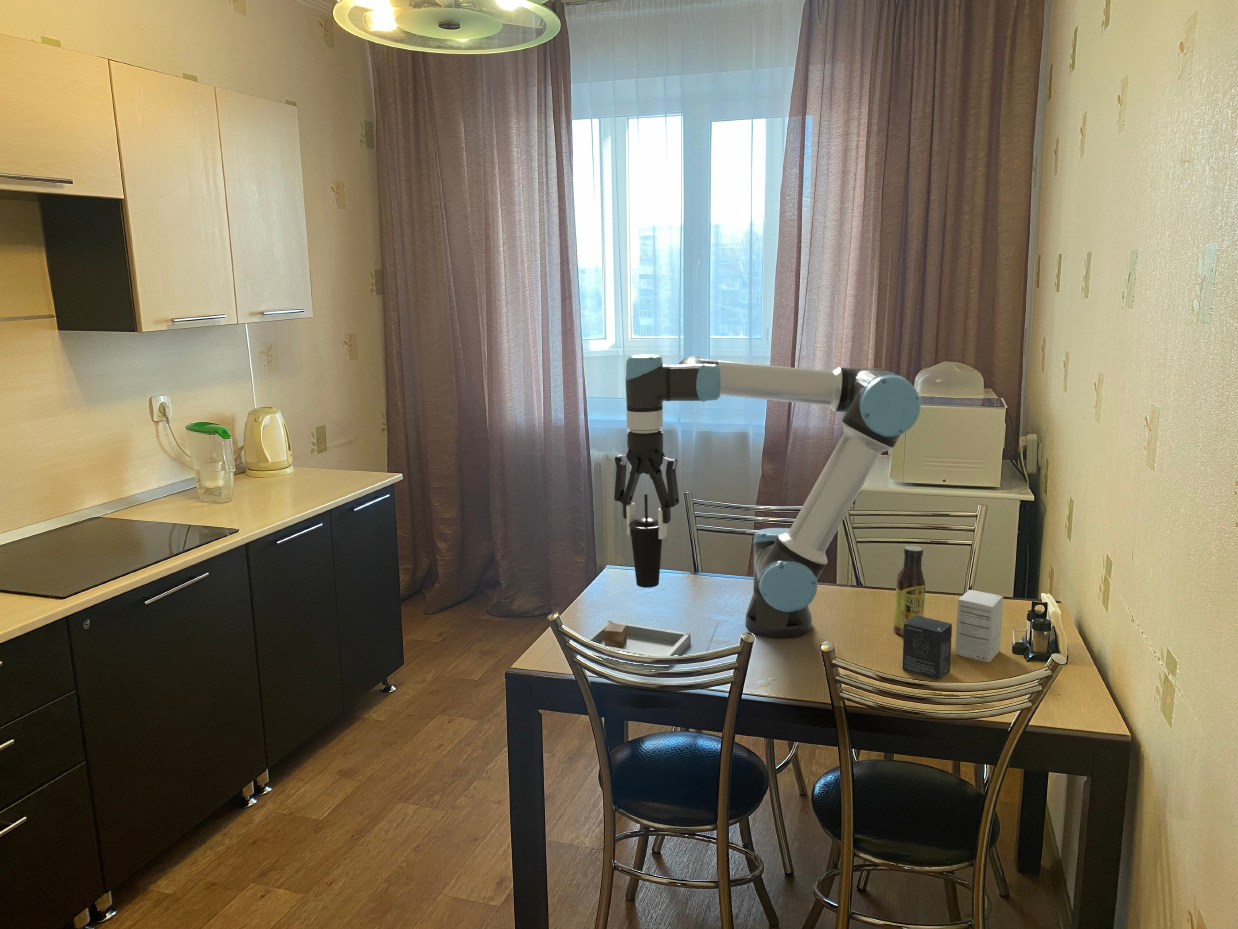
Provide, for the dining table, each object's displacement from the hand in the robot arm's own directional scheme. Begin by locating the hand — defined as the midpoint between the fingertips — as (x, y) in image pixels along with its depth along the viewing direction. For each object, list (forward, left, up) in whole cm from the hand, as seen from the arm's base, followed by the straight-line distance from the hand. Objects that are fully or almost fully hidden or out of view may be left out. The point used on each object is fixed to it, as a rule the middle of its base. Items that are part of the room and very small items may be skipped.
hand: (647, 535), depth 193 cm
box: (-57, -11, -26) cm, 64 cm away
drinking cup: (0, 0, -11) cm, 11 cm away
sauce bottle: (-51, -30, -26) cm, 65 cm away
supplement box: (-66, -24, -26) cm, 75 cm away
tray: (+2, +2, -26) cm, 26 cm away
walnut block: (+7, +2, -25) cm, 26 cm away
